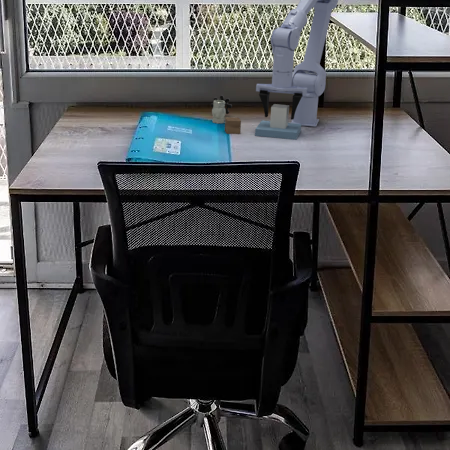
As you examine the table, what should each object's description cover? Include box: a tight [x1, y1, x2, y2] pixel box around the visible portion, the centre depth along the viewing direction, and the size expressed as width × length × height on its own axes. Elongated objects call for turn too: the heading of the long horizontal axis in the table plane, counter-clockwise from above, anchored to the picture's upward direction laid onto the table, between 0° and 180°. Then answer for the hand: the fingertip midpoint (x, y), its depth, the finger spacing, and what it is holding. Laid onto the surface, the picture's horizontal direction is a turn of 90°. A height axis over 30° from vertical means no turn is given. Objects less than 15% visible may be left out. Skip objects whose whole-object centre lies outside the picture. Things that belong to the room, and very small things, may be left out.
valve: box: [210, 94, 233, 124], centre depth 256 cm, size 7×7×12 cm
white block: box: [269, 103, 290, 129], centre depth 242 cm, size 4×4×6 cm
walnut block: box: [224, 116, 242, 135], centre depth 241 cm, size 4×4×4 cm
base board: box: [254, 120, 302, 140], centre depth 243 cm, size 12×12×2 cm
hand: (279, 117), depth 242 cm, fingers open, 7 cm apart
